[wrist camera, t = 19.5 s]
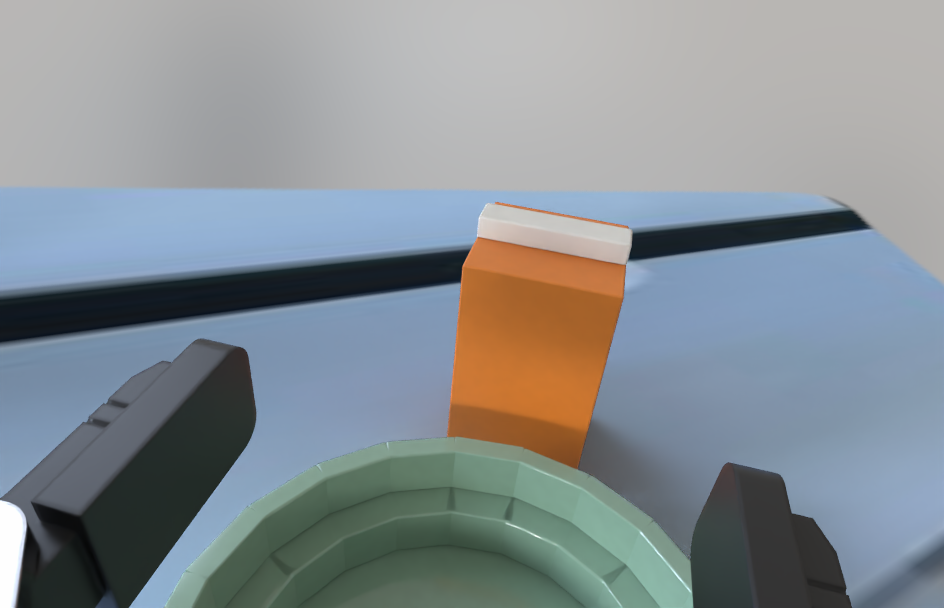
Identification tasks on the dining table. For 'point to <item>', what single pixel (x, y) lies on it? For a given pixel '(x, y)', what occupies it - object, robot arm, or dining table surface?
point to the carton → (536, 328)
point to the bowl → (439, 537)
